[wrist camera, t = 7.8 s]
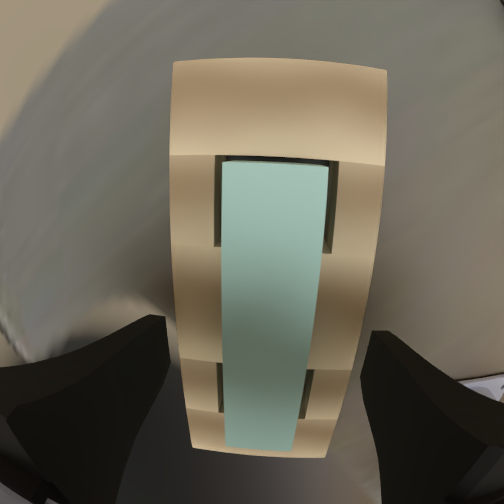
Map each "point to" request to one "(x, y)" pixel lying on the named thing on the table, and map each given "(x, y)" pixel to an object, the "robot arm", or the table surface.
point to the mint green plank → (268, 295)
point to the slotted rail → (336, 222)
